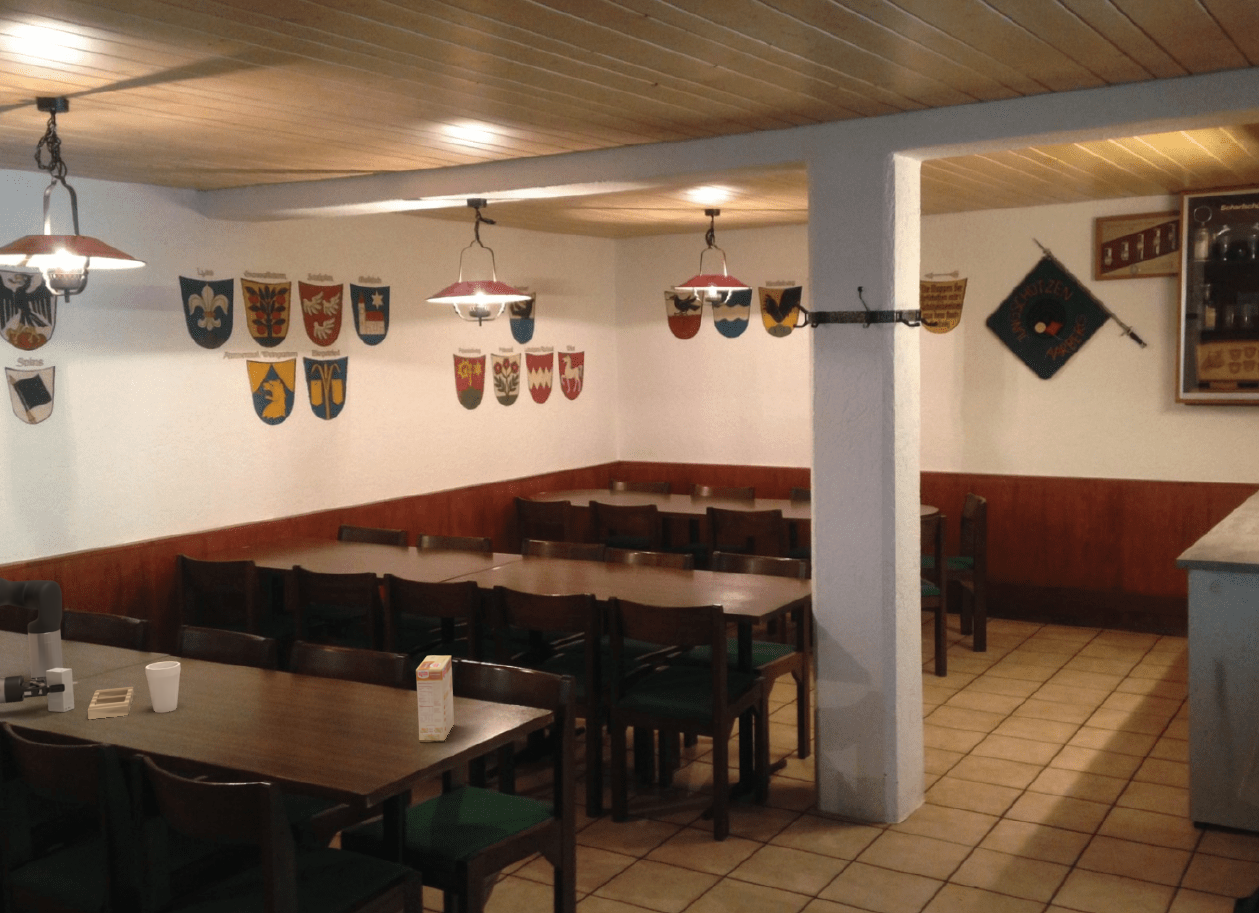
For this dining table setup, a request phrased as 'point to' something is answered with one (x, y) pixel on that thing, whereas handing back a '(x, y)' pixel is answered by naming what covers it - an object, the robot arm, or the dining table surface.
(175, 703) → the foam cup
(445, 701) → the coffeecake box
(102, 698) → the wooden crate
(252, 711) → the dining table surface
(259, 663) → the dining table surface
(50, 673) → the skincare box
